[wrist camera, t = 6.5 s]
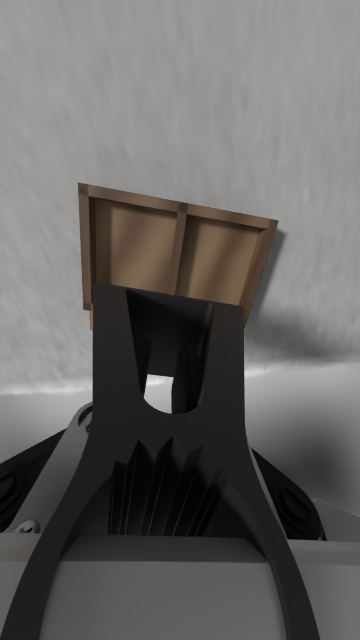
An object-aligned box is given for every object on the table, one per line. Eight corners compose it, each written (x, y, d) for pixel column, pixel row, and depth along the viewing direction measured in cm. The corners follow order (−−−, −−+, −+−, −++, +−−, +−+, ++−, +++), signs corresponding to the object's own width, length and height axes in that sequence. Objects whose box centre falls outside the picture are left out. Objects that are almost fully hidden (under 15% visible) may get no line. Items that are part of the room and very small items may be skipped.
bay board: (266, 222, 25) (278, 220, 22) (230, 343, 32) (236, 353, 29) (89, 189, 22) (77, 182, 20) (92, 327, 29) (84, 336, 27)
